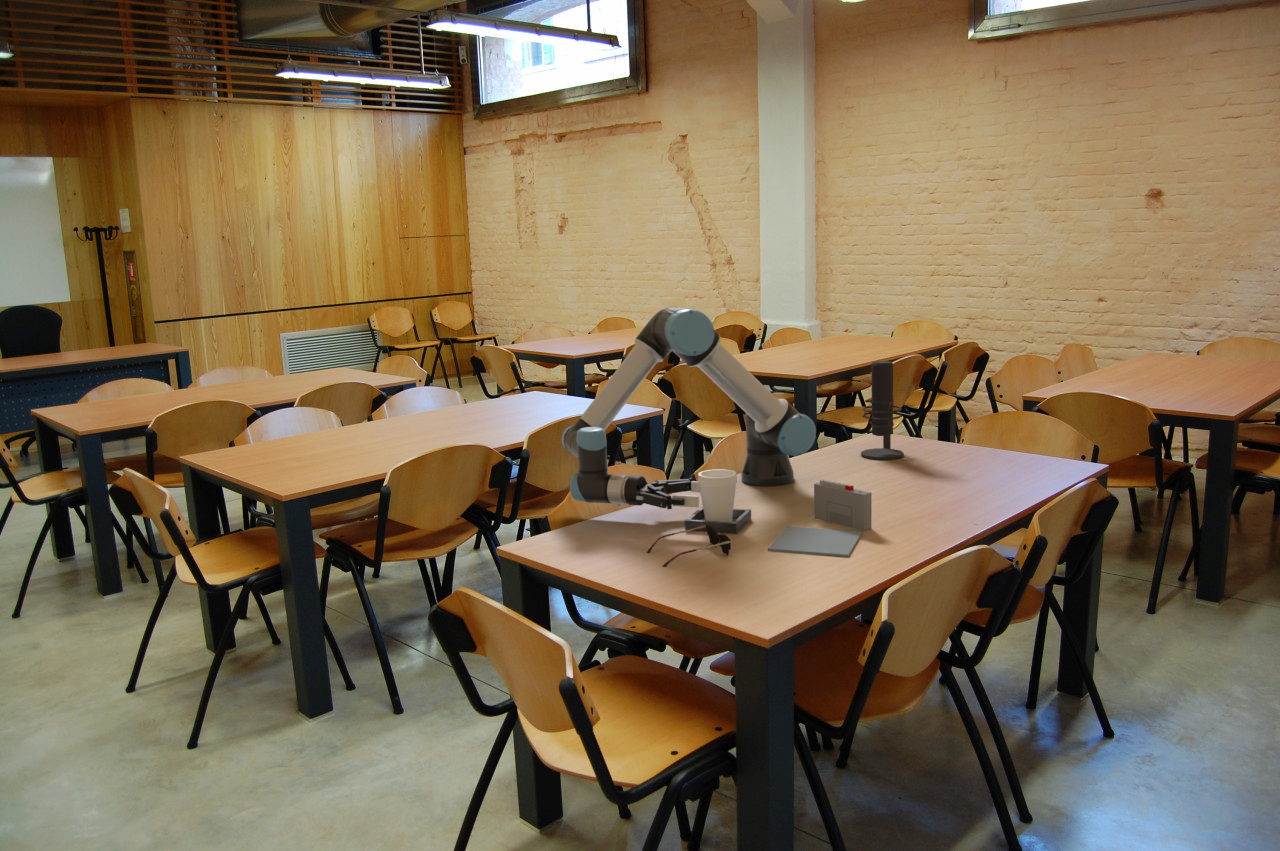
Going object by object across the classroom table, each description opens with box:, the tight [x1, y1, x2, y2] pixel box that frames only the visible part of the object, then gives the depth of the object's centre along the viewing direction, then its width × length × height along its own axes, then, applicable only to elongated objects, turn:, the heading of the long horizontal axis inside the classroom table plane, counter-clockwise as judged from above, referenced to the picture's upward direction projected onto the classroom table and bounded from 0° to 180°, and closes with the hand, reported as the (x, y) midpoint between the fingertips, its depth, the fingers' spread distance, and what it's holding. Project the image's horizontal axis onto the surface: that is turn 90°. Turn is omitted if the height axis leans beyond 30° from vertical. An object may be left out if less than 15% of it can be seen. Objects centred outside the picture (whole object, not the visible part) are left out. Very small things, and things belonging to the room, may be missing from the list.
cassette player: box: [813, 479, 872, 532], centre depth 234 cm, size 16×3×10 cm, turn 38°
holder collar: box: [684, 506, 752, 535], centre depth 238 cm, size 13×13×2 cm
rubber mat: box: [767, 525, 863, 558], centre depth 221 cm, size 18×18×1 cm
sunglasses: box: [646, 524, 732, 568], centre depth 216 cm, size 14×16×5 cm
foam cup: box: [697, 468, 738, 522], centre depth 237 cm, size 10×9×13 cm
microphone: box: [860, 360, 905, 461], centre depth 303 cm, size 14×13×30 cm
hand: (707, 494), depth 237 cm, fingers open, 13 cm apart
